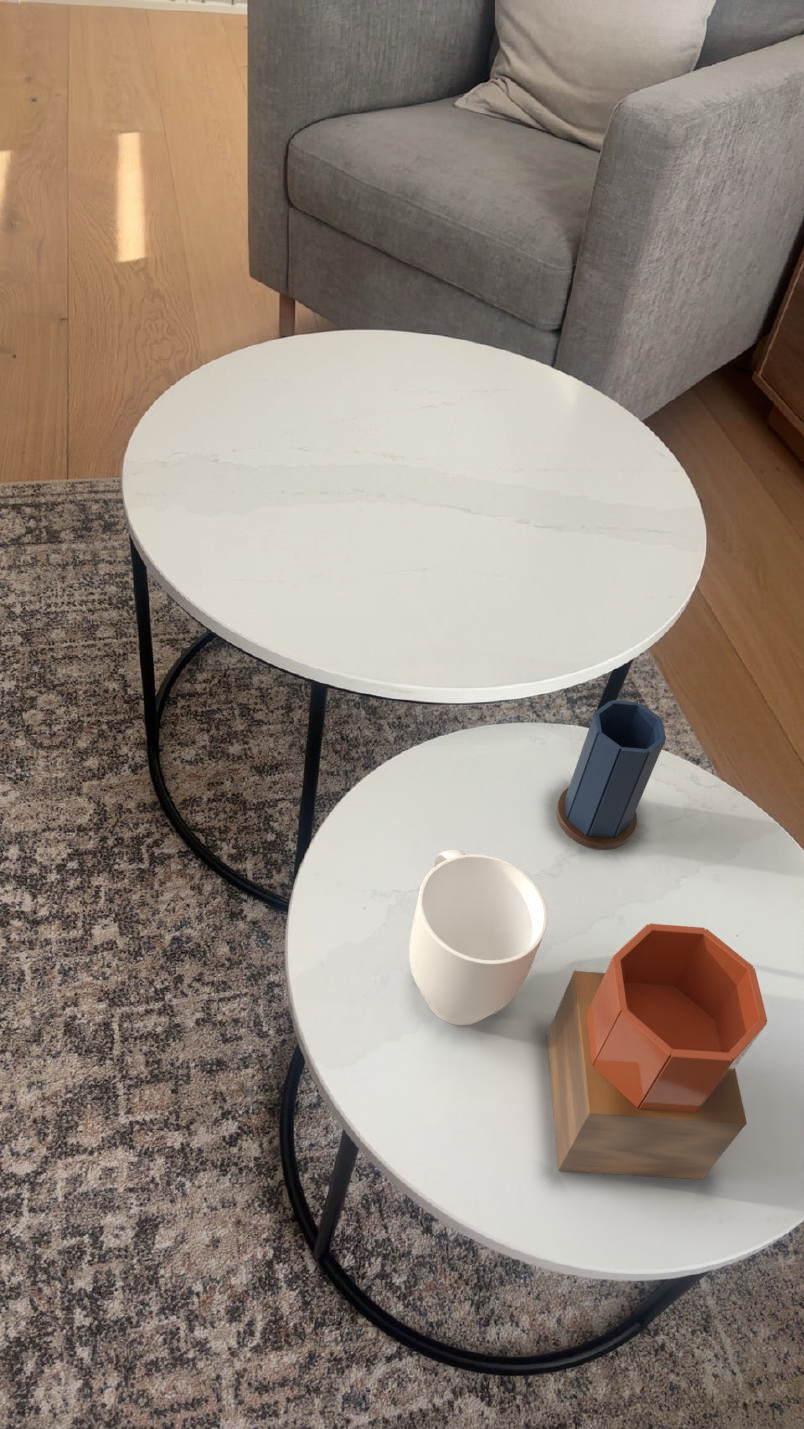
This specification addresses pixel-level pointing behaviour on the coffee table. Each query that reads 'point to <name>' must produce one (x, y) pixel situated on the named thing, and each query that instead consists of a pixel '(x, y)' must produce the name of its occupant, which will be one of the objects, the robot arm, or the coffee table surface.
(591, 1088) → the riser
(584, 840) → the coaster
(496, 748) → the coffee table surface
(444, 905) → the mug
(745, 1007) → the terracotta cup
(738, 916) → the coffee table surface
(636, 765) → the slate cup
